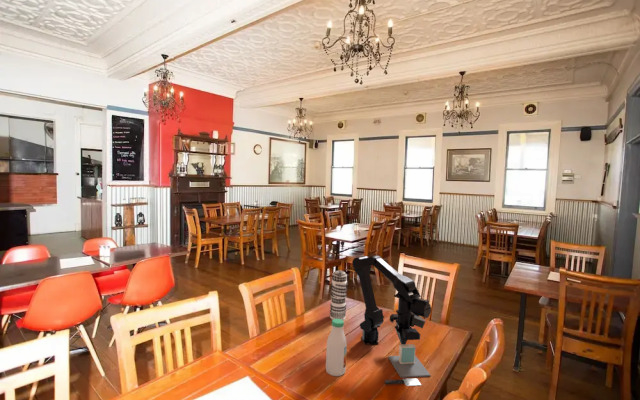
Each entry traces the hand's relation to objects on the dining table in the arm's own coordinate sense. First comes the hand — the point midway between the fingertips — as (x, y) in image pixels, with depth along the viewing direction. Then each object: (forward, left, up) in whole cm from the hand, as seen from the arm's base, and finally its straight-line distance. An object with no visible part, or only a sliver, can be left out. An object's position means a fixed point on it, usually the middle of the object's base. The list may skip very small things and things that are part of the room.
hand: (403, 345), depth 137 cm
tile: (0, -4, -5) cm, 6 cm away
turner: (-6, -17, -5) cm, 18 cm away
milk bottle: (-30, -7, -5) cm, 32 cm away
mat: (0, -7, -5) cm, 8 cm away
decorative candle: (-20, +40, -5) cm, 46 cm away
